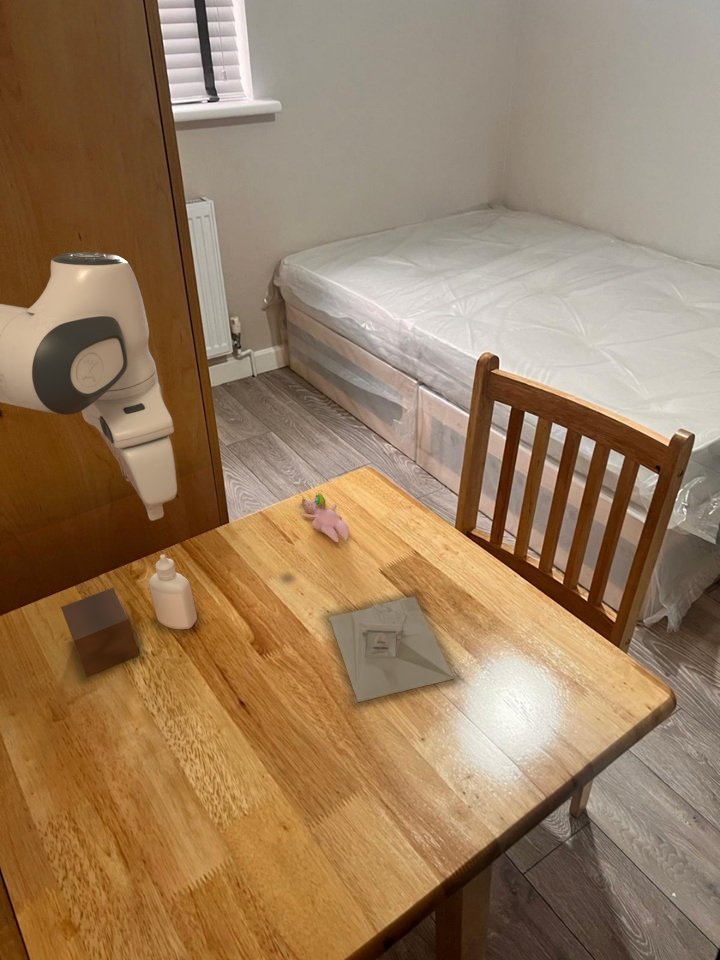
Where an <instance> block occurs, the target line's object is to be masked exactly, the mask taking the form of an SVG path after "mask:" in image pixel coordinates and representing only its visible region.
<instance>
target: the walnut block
mask: <svg viewBox="0 0 720 960" xmlns="http://www.w3.org/2000/svg"><path fill="white" fill-rule="evenodd" d="M60 609H61V612H62V614H63V617H64V620H65V622H66V625H67V628H68V631H69V634H70V637H71V640H72V642H73V645H74V647H75V650H76V652H77V655H78V659H79V660H80V663H81V666H82V668H83V669H82V670H83V672H84V674H85V677H86V678H89V677H91V676H94V675H96V674H98V673H101V672H104V671H105V670H108V669H110V668H113V667H115V666H117V665H119V664H122V663H124V662H127V661H130V660H131V659H134V658H137V657H139V656H140V654H139V653H140V652H139V650H138V646H137V643H136V640H135V637H134V632H133V630H132V626H131V622H130V618H129V617H128V615H127V613H126V610H125V608H124V606H123V604H122V602H121V599H120V598H119V596H118V593H117V591H116V589H115V587H114V586H113V587H111V588H108V589H105V590H101V591H100V592H97V593H95V594H92V595H90V596H89V595H88V596H86V597H83V598H81V599H78V600H76V601H73V602H70V603H68V604H65V605H63V606H61V608H60Z"/></svg>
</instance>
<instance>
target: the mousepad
mask: <svg viewBox="0 0 720 960" xmlns="http://www.w3.org/2000/svg"><path fill="white" fill-rule="evenodd" d="M328 618H329V621H330V624H331V627H332V630H333V633H334V636H335V640H336V642H337V645H338V649H339V651H340V654H341V658H342V660H343V663H344V666H345V669H346V672H347V675H348V678H349V681H350V684H351V687H352V689H353V693H354V696H355V698H356V701H357V703H360V702H365V701H368V700H372V699H378V698H380V697H385V696H389V695H394V694H397V693H402V692H406V691H410V690H414V689H418V688H423V687H426V686H430V685H434V684H437V683H442V682H446V681H450V680H455V677H454V675H453V672H452V671H451V668H450V667H449V664H448V662H447V660H446V658H445V656H444V654H443V652H442V650H441V648H440V646H439V644H438V641H437V640H436V638H435V635H434V633H433V631H432V629H431V628H430V625H429V623H428V621H427V618H426V617H425V615H424V613H423V611H422V609H421V607H420V605H419V603H418V600H417V598H416V597H415V595H413V596H409V597H404V598H399V599H395V600H389V601H385V602H381V603H380V602H379V603H377V604H372V605H370V607H367V608H363V609H359V610H354V611H350V612H349V611H348V612H344V613H339V614H335V615H331V616H328Z"/></svg>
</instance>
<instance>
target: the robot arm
mask: <svg viewBox="0 0 720 960" xmlns="http://www.w3.org/2000/svg"><path fill="white" fill-rule="evenodd" d="M149 337H150V329H149V322H148V317H147V312H146V309H145V305H144V300H143V295H142V292H141V289H140V287H139V283H138V280H137V278H136V274H135V272H134V270H133V269H132V267H131V265H130V264H129V262H128V261H127V260H125V259H124V258H123V257H121V256H119V255H116V254H112V253H106V252H99V251H98V252H96V251H74V252H66V253H63V254H59V255H57V256H55V257H53V258H52V259H51V260H50V277H49V280H48V282H47V284H46V287H45V288H44V290H43V292H42V293H41V295H40V296H39V297H38V299H37V300H36V301H35V302H34V303H33V304H32V305H31V306H30V307H29V308H28V307H23V306H18V305H17V306H16V305H10V304H5V303H0V403H2V404H7V405H11V406H15V407H20V408H25V409H30V410H34V411H37V412H43V413H48V414H54V415H63V416H64V415H66V416H67V415H74V414H78V413H81V415H82V417H83V419H84V421H85V422H86V423H87V424H88V425H90V426H94V427H95V428H96V429H97V430H98V432H99V434H100V436H101V438H102V439H103V441H104V442H105V444H106V446H107V447H108V449H109V450H110V453H111V454H112V455H113V457H114V458H115V460H116V462H117V463H118V465H119V468H120V471H121V474H122V477H123V479H124V481H125V482H127V483H130V485H132V487H133V489H134V490H135V492H136V494H137V495H138V496H139V498H140V500H141V502H142V504H143V508H144V512H145V514H146V516H147V518H148V519H149V521H151V522H153V521H156V520H159V519H162V518H163V517H164V515H165V512H164V506H163V504H165V503H169V502H171V501H173V500H174V499H175V498H176V497H177V493H178V481H177V470H176V463H175V455H174V450H173V445H172V441H171V438H170V436H169V435H172V434H174V432H175V427H174V422H173V418H172V416H171V413H170V411H169V409H168V407H167V405H166V403H165V400H164V397H163V392H162V387H161V384H160V381H159V376H158V371H157V365H156V362H155V360H154V358H153V356H152V354H151V352H150V348H149Z"/></svg>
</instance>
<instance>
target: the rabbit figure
mask: <svg viewBox="0 0 720 960" xmlns="http://www.w3.org/2000/svg"><path fill="white" fill-rule="evenodd" d="M300 504H301V506H303V509H304V511H305V512H306V513H302V512H301V515H300V516H301V517H302V518H303V517H304V518H310V519H314V520H313V521H312V523H311V527H312V528H313V529H315V530H316V531H318V532H320V533H322V534H325V535H326V536H327V537H329V538H330V539H331V540H332V541H334V542H335V543H340V539H339V535H340V536H341V537H342V538H343V539H344V540H345V541H348V539H349V535H350V528H349V525H348V523H347V522H345V520H343V517H342V516H341V515H340V514H338V513H337V512H336V511H334V510H335V509H336V508H337V504H333V505H332V507H331V508H330V509H326V499H325V497H324V496H323V494H321V493H320V492H315V498H314V499H313V500H307V499H306V498H304V496H302V500H301V503H300ZM337 533H338V534H339V535H338V534H337Z"/></svg>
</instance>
